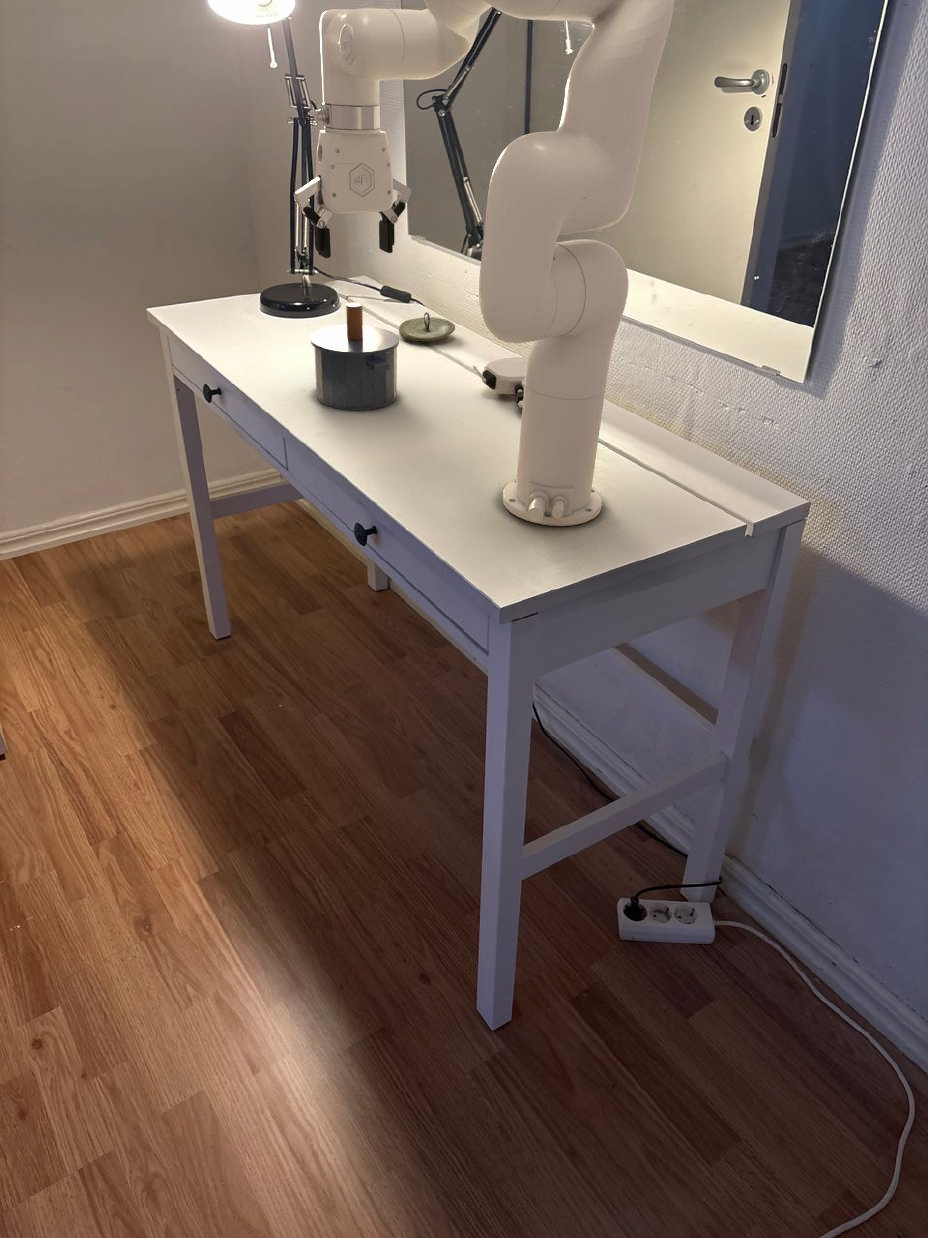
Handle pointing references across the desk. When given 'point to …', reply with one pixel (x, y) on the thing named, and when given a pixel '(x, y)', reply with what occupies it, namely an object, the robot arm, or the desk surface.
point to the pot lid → (354, 336)
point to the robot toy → (506, 376)
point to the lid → (426, 328)
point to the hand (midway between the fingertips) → (355, 253)
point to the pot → (356, 380)
